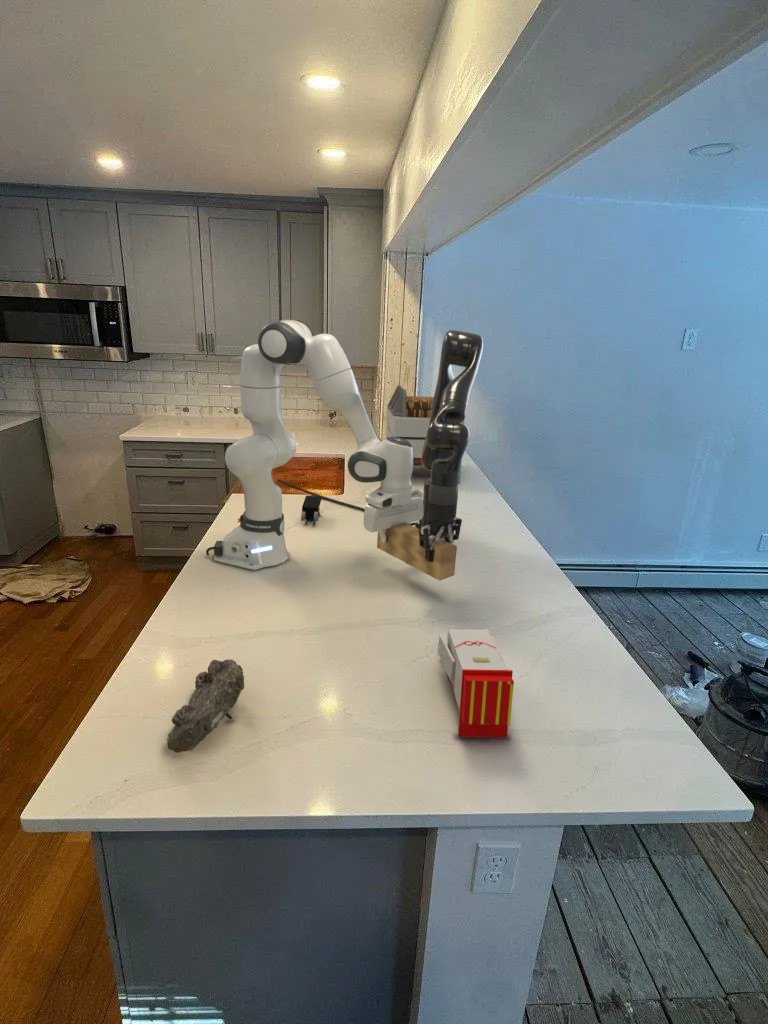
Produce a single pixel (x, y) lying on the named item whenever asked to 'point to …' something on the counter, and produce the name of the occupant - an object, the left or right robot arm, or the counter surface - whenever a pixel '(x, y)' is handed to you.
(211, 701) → the fossil
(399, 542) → the bar
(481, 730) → the toy
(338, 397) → the left robot arm
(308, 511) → the figurine character
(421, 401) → the grey wooden crate
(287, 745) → the counter surface
